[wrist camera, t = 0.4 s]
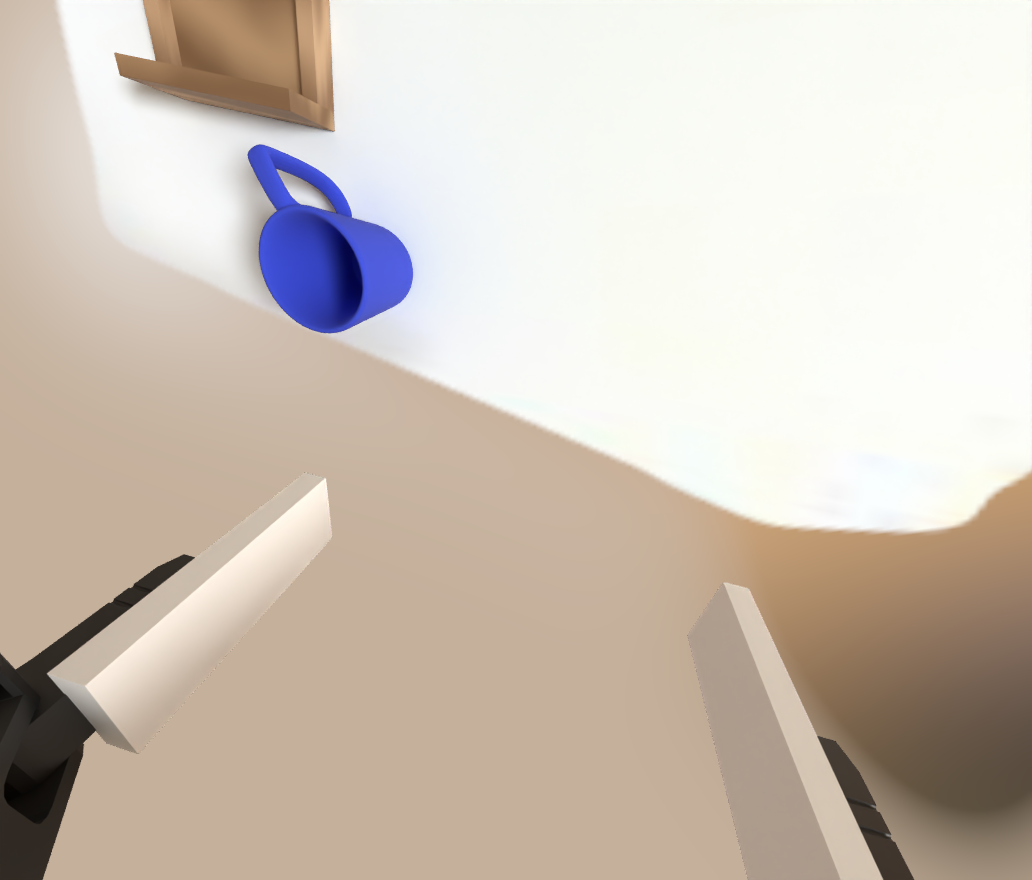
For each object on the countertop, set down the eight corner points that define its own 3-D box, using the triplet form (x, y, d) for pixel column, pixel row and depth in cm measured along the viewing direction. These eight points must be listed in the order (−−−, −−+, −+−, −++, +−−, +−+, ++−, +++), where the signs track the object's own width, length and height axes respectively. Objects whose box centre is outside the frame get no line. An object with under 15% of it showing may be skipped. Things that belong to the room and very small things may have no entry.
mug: (374, 147, 30) (284, 105, 21) (439, 294, 34) (387, 310, 26) (301, 194, 32) (195, 174, 24) (371, 325, 37) (303, 348, 28)
